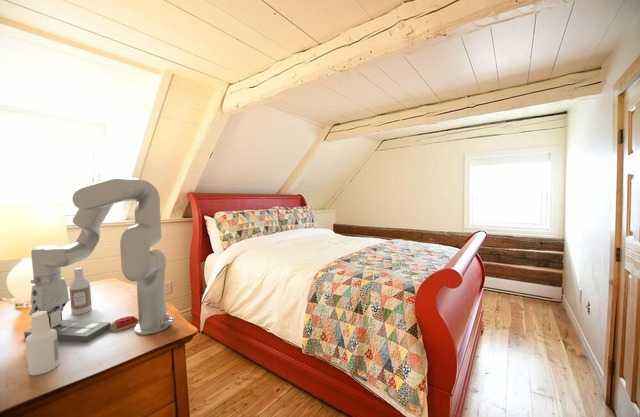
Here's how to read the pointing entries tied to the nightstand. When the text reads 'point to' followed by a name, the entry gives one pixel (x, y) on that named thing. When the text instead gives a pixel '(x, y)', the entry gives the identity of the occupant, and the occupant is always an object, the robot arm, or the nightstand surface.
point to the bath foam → (80, 293)
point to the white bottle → (41, 345)
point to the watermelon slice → (123, 323)
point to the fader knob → (54, 316)
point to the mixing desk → (78, 330)
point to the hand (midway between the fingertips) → (52, 323)
